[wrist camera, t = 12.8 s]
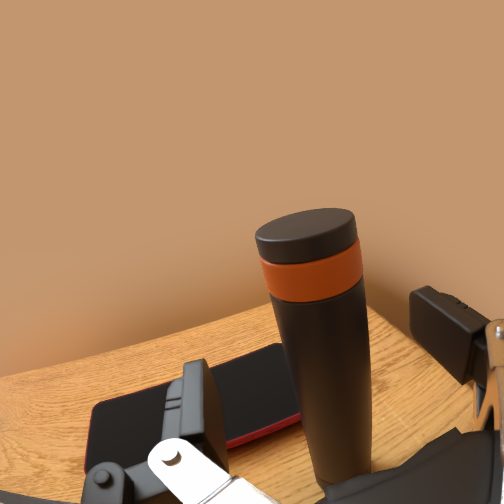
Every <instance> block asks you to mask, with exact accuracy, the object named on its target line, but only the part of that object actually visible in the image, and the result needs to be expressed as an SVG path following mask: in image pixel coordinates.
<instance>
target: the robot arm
mask: <svg viewBox="0 0 504 504" xmlns="http://www.w3.org/2000/svg"><path fill="white" fill-rule="evenodd" d="M409 309H410V310H409V311H410V312H409V313H410V331H411V333H412V335H413V337H414V339H415V340H416V341H417V342H418V343H419V344H420V345H421V346H422V347H423V348H424V349H425V350H426V351H427V352H429V353H430V354H431V355H432V356H433V357H434V358H435V359H436V360H437V361H438V362H439V363H440V364H441V365H442V366H443V367H444V368H445V369H446V370H447V371H448V372H449V373H450V374H451V375H452V376H453V377H454V378H455V379H456V380H457V381H458V382H459V383H460V384H461V385H464V384H465V383H467V382H468V381H470V380H472V379H473V380H474V381H475V384H474V388H473V392H474V412H473V429H472V432H467V433H463V434H461V433H460V432H459V430H458V429H457V428H456V427H455V428H453V429H451V430H450V431H448V432H446V433H445V434H443V435H441V436H440V437H438V438H436V439H434V440H433V441H431V442H429V443H427V444H426V445H425V446H424V447H423V448H422V449H420V450H419V451H418V452H417V453H416V454H414V455H413V456H412V457H411V458H410V459H408V460H407V461H406V462H405V463H403V464H402V465H401V466H399V467H396V468H392V469H387V470H383V471H378V472H373V473H368V474H363V475H359V476H356V477H354V478H351V479H348V480H346V481H343V482H340V483H337V484H334V485H331V486H328V487H325V488H324V493H325V497H324V498H322V499H321V500H319V501H318V502H316V503H315V504H504V319H497V320H493V321H490V320H489V319H487V318H485V317H484V316H483V315H481V314H480V313H478V312H477V311H475V310H474V309H472V308H470V307H468V305H466V304H464V303H462V302H461V301H460V300H459V299H457V298H455V297H454V296H452V295H448V294H445V293H439V292H437V291H436V290H435V289H433V288H432V287H430V286H425V287H422V288H420V289H417V290H415V291H412V292H411V293H410V296H409ZM81 504H281V503H279V502H278V501H276V500H275V499H273V498H271V497H270V496H268V495H267V494H265V493H264V492H262V491H260V490H259V489H257V488H256V487H254V486H253V485H251V484H250V483H249V482H247V481H246V480H244V479H243V478H241V477H239V476H234V477H232V476H230V475H229V466H228V457H227V448H226V438H225V427H224V417H223V406H222V400H221V396H220V393H219V390H218V387H217V385H216V383H215V381H214V378H213V376H212V374H211V371H210V369H209V367H208V364H207V362H206V360H205V359H204V358H203V359H199V360H195V361H191V362H186V363H184V366H183V377H182V378H178V379H174V380H173V382H172V383H171V385H170V386H169V388H168V389H167V396H166V404H165V412H164V421H163V429H162V439H161V442H160V443H159V444H157V445H156V446H155V447H154V448H153V449H152V450H151V452H150V454H149V457H148V460H147V461H145V462H143V463H141V464H138V465H135V466H132V467H130V468H127V469H124V470H123V469H122V467H121V466H119V465H118V464H116V463H113V462H103V463H100V464H98V465H96V466H94V467H93V468H92V469H91V470H90V471H89V472H88V474H87V475H86V478H85V482H84V487H83V493H82V498H81Z"/></svg>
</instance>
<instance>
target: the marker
mask: <svg viewBox="0 0 504 504" xmlns="http://www.w3.org/2000/svg"><path fill="white" fill-rule="evenodd" d="M255 239H256V243H257V247H258V251H259V254H260V262H261V265H262V269H263V273H264V277H265V281H266V285H267V288H268V291H269V293H270V297H271V301H272V305H273V309H274V313H275V317H276V321H277V325H278V329H279V332H280V336H281V340H282V344H283V348H284V352H285V356H286V360H287V364H288V368H289V372H290V376H291V380H292V384H293V388H294V392H295V396H296V400H297V404H298V408H299V412H300V416H301V420H302V424H303V428H304V432H305V436H306V440H307V444H308V448H309V452H310V456H311V460H312V464H313V468H314V472H315V476H316V480H317V483H318V485H319V486H320V487H321V488H322V489H323V490H324V488H325V487H328V486H331V485H334V484H337V483H340V482H343V481H346V480H348V479H351V478H354V477H356V476H359V475H363V474H368V473H370V471H371V446H372V390H371V363H370V345H369V331H368V319H367V307H366V297H365V288H364V279H363V265H362V257H361V250H360V243H359V238H358V236H357V228H356V222H355V216H354V214H353V213H352V212H351V211H349V210H345V209H338V208H323V209H314V210H307V211H302V212H298V213H294V214H290V215H287V216H284V217H281V218H278V219H275V220H273V221H271V222H269V223H267V224H265V225H263V226H262V227H261V228H259V229H258V230H257V231H256V233H255Z"/></svg>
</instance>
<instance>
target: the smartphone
mask: <svg viewBox="0 0 504 504" xmlns="http://www.w3.org/2000/svg"><path fill="white" fill-rule="evenodd" d="M209 369H210V371H211V374H212V376H213V378H214V381H215V383H216V385H217V387H218V390H219V393H220V396H221V400H222V406H223V417H224V427H225V438H226V448H227V449H230V448H233V447H236V446H238V445H241V444H244V443H247V442H249V441H252V440H255V439H257V438H260V437H262V436H265V435H267V434H270V433H272V432H275V431H277V430H279V429H282V428H284V427H286V426H289V425H291V424H293V423H296V422H298V421H300V420H301V416H300V412H299V408H298V404H297V400H296V396H295V392H294V388H293V384H292V380H291V376H290V372H289V368H288V364H287V360H286V356H285V352H284V348H283V344H282V343H274V344H271V345H268V346H266V347H263V348H261V349H258V350H256V351H253V352H251V353H248V354H245V355H243V356H240V357H238V358H235V359H232V360H230V361H227V362H224V363H222V364H219V365H216V366H213V367H210V368H209ZM172 382H173V380H172V381H169V382H166V383H163V384H160V385H157V386H153V387H150V388H147V389H144V390H140V391H137V392H134V393H130V394H127V395H123V396H120V397H116V398H112V399H109V400H105V401H101V402H99V403H98V404H96V405H95V406H94V407H93V409H92V413H91V419H90V425H89V432H88V439H87V447H86V455H85V464H84V472H85V474H86V475H87V474H88V472H89V471H90V470H91V469H92V468H93V467H94V466H96V465H98V464H100V463H103V462H113V463H116V464H118V465H119V466H121V467H122V469H123V470H124V469H127V468H130V467H132V466H135V465H138V464H141V463H143V462H145V461H147V460H148V457H149V454H150V452H151V450H152V449H153V448H154V447H155V446H156V445H157V444H159V443H160V442H161V439H162V429H163V421H164V412H165V404H166V396H167V389H168V388H169V386H170V385H171V383H172Z"/></svg>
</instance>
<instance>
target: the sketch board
mask: <svg viewBox="0 0 504 504" xmlns="http://www.w3.org/2000/svg"><path fill="white" fill-rule="evenodd" d="M0 504H79V503H69V502H61V501H53V500H47V499H40V498H35V497H29V496H24V495H19V494H15V493H10V492H6V491H2V490H0Z"/></svg>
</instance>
